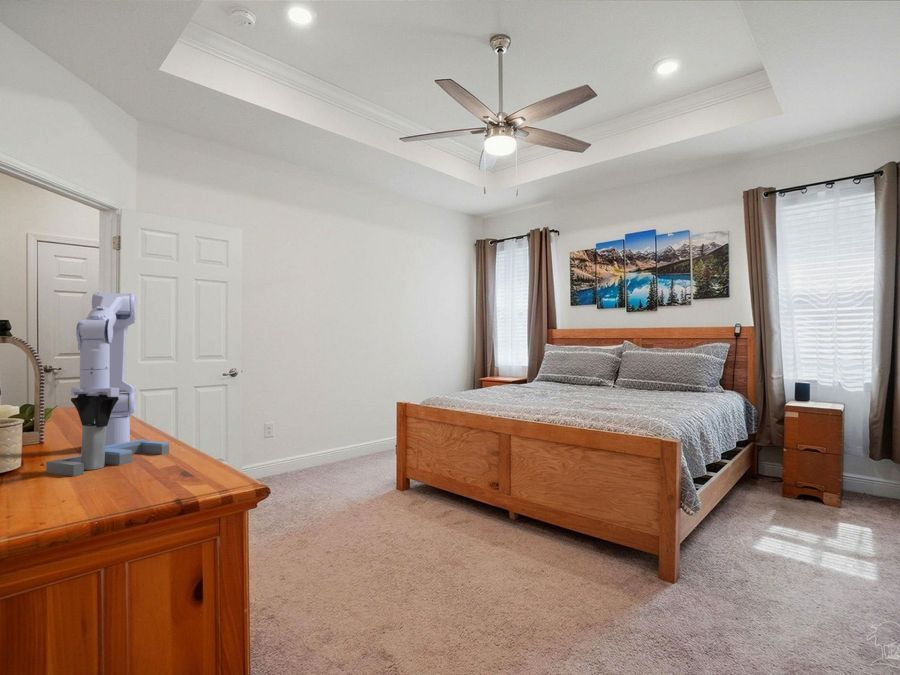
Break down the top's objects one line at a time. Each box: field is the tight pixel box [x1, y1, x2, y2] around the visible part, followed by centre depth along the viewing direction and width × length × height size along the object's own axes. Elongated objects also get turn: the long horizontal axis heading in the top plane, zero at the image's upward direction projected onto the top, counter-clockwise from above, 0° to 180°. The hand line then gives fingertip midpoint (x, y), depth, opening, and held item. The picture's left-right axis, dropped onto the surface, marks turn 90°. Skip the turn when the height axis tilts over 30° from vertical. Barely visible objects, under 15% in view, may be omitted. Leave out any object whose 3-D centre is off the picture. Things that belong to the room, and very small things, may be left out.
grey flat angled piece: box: [45, 444, 170, 477], centre depth 117 cm, size 10×23×2 cm, turn 158°
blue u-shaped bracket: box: [105, 438, 170, 455], centre depth 122 cm, size 10×13×1 cm
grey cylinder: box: [80, 424, 106, 471], centre depth 112 cm, size 4×4×10 cm
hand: (94, 426), depth 112 cm, fingers closed on grey cylinder, 4 cm apart
